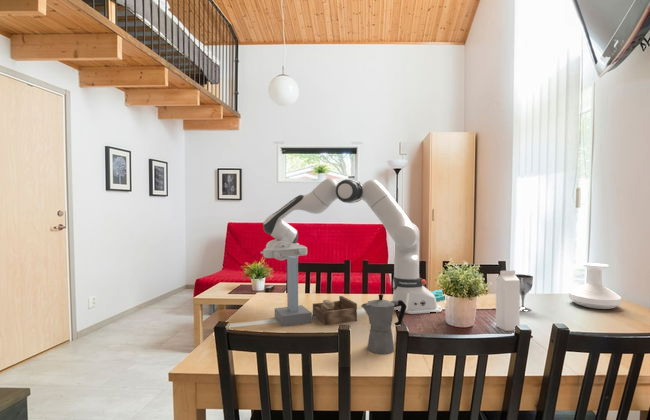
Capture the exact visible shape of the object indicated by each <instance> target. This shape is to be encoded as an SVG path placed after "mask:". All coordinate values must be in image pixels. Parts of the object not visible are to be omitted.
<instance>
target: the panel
mask: <svg viewBox="0 0 650 420" xmlns="http://www.w3.org/2000/svg"><path fill="white" fill-rule="evenodd" d="M286 260H287V261H286V262H287V264H286V265H287V266H286V267H287V268H286V269H287V271H286V272H287V273H286V274H287V277H286V280H287V283H286V286H287V287H286V288H287V289H286V290H287V296H286V297H287V300H286V301H287V305H286V307H287V309H288V310H289V311H290V312H298V306H299V256H298V257H296V256H287V259H286Z"/></svg>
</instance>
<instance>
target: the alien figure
mask: <svg viewBox="0 0 650 420" xmlns="http://www.w3.org/2000/svg"><path fill="white" fill-rule="evenodd" d="M442 290H443V289H436V290H433V291H430V290H429V291H430V292H431V293H433V294H434V296H435V298H436V302H441V301H444V300H446V299H445V296H443V292H442Z"/></svg>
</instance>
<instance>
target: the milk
mask: <svg viewBox="0 0 650 420" xmlns="http://www.w3.org/2000/svg"><path fill="white" fill-rule="evenodd" d="M499 273H500V274H499V275H498V276H496V277H495V327H498V328H499V329H501V330H502V331H505V332H509V331H515V330H514V328H515V326H516V325H517V326H521V325H520V317H521V316H520V312H521V311H520V307H521V305H520V304H521V303H520V299H521V298H520V297H521V295H520V280H519V279H518V277H517V276H516V275H515V274H516V270H500V272H499Z"/></svg>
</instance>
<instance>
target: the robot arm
mask: <svg viewBox="0 0 650 420" xmlns="http://www.w3.org/2000/svg"><path fill="white" fill-rule="evenodd" d="M337 199H339V201H340V202H342V203H346V204H354V203H358V202H359V201H364V202H365V203H366V204H367V205H368V207H369V208H370V209H371V211H372V212H373V213H374V215H375V216H376V217H377V218H378V220H379V221H380V222H381V224H382V225H383V227H384V229H385V230H386V231H387V233H388V234H389V236H390V237H391V239H392V240H393V241H394V260H393V263H394V265H393V266H394V267H393V269H394V270H393V273H394V274H393V277H392V278H393V279H392V288H393V293H392V299H391V301H398V300H402V301H403V302H404V303H405V304H406V310H405V313H404V314H408V315H417V314H431V313H430V312H436V313H441V311H442V312H443V308H442V306H441V305H440V304H438V303H437V302H438V301H436V298H435V296H434V294H433V293H431V292H430V290H429V289H428V288H427V287H426V286H425V285H426V284H427V281H426V279H423V278H421V277H420V239H421V238H420V234H421V233H420V229H419V227H418V226H417V225H416V224H415V223H413V221H411V220H410V218H409V217H408V216H407V214H406V213H405V212H404V210H403V209H402V207H401V206H400V204H398V201H396V200H395V199H394V197H393V196H392V195H391V193H390V192H389V191H388V190H387V188H385V187H384V186H383V184H381V183H380V182H379V181H378V180H377V179H368V180H366V181H365V182H363V183H361V182H360V181H357V180H355V179H349V178H348V179H343V180H341V181H339V182H338V181H337V180H336V179H335V178H332V177H327V178H325V179H324V180H323V181H321V182H320V183H319V184H317V185H316V186H315V187H314V188H313V190H311V191H310V192H309V193H307V194H299V195H298V196H296V197H294V198H293V199H291V200H290V201H288V202H287V203H286V204H284V205H283V206H282V207H280V208H279V209H278V210H277V211H275V212H273V213H272V214H270V215H269V216H267V217H266V219H265V220H263V223H262V228H263V231H264V233H266V234H268V235H269V236H271V237H272V238H274V239H272V240H270V241H268V242H267V243H266V245H265V248H264V249H263V251H260V254H262V256H263V258H265V259H275V260H278V261H285V260H287V256H296V257H298V258H299V257H300V256H307V255H308V247H307V246H305V245H303V244H300V243H298V239H299V233H298V230H297V229H296V228H295V227H293V226H292V225H290V224H289V223H288V222H286V221H285V220H284V219H285V218H286V217H288V215H290V214H291V213H292V212H294V211H303V212H307V213H309V214H315V215H316V214H321V213H323V212H325V211H326V210H327V209H328V208H329V207H330V206H331V205H332V204H333V203H334V202H335V201H336V200H337ZM400 309H401V306H397V307H394V311H396V310H398V311H397V312H400Z"/></svg>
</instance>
